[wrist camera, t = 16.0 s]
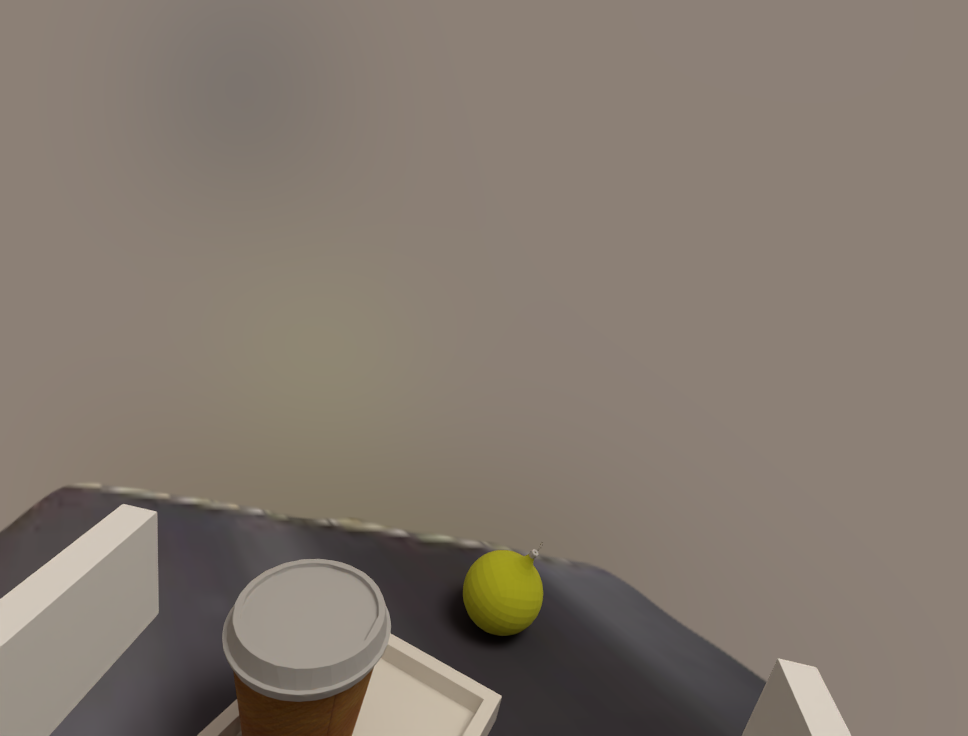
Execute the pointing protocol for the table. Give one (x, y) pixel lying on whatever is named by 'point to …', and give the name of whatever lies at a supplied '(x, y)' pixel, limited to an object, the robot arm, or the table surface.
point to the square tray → (407, 700)
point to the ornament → (503, 592)
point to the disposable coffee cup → (305, 648)
